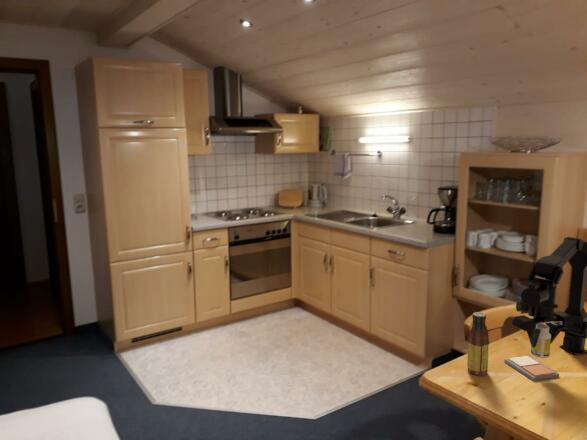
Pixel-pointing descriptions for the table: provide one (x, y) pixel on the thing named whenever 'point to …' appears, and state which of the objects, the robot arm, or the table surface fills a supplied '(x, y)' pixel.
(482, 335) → the sauce bottle
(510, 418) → the table surface
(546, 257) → the robot arm
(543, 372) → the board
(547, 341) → the supplement bottle
